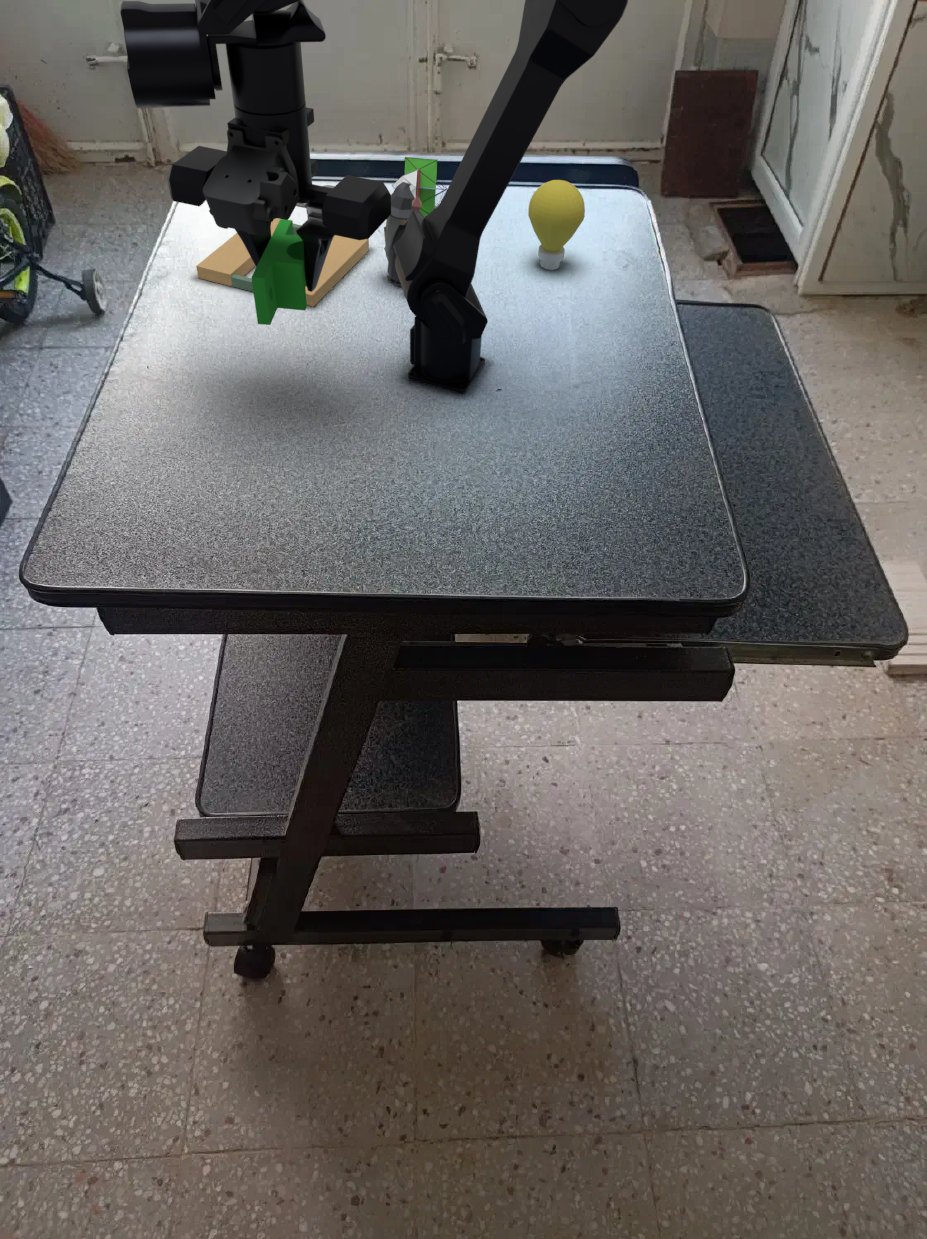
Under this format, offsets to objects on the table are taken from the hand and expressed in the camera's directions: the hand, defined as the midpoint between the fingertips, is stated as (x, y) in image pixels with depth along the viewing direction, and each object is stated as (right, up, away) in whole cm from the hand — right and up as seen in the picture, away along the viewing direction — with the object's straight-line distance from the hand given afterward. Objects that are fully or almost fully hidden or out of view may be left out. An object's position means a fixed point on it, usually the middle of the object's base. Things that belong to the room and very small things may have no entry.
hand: (289, 284), depth 84 cm
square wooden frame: (-5, +12, +24) cm, 27 cm away
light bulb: (+27, +13, +27) cm, 40 cm away
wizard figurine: (+10, +8, +23) cm, 26 cm away
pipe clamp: (0, -1, +1) cm, 1 cm away
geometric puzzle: (+10, +23, +35) cm, 43 cm away
